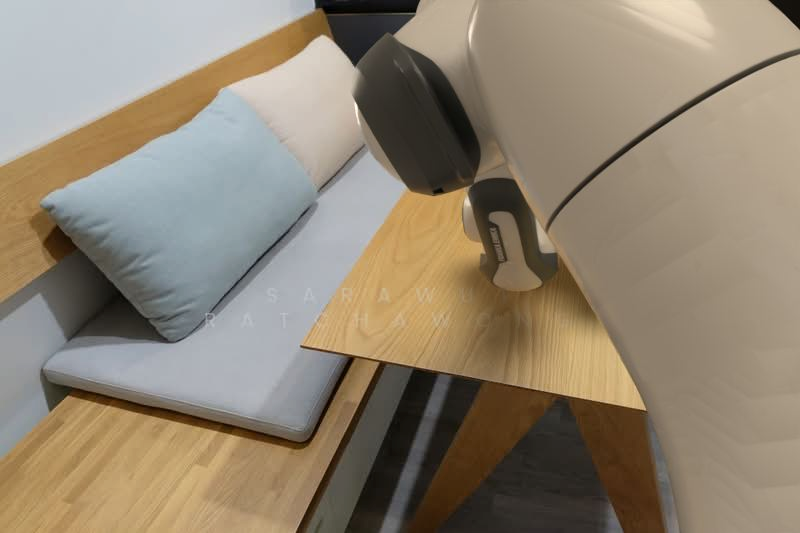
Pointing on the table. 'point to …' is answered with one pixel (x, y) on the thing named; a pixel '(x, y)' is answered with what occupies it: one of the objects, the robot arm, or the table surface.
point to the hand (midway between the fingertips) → (675, 219)
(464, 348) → the table surface
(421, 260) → the table surface
